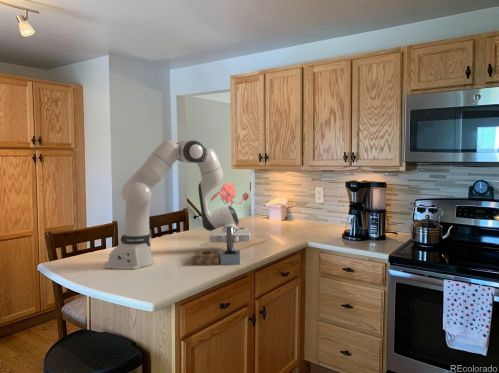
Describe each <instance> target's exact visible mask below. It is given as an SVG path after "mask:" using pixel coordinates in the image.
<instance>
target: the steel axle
mask: <svg viewBox="0 0 499 373" xmlns="http://www.w3.org/2000/svg"><path fill="white" fill-rule="evenodd" d="M234 244H235V243H234V242H233V226H227V243H226V250H227V254H234V250H235V248H234Z"/></svg>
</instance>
